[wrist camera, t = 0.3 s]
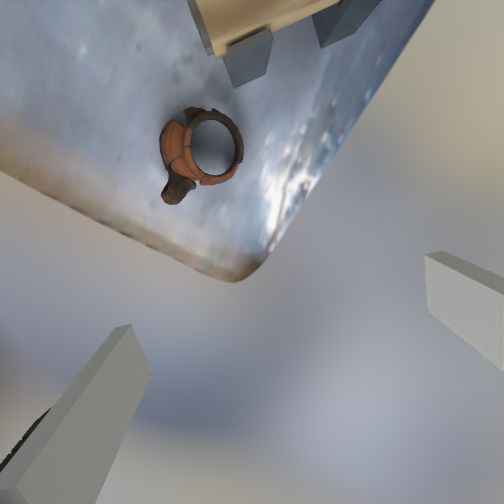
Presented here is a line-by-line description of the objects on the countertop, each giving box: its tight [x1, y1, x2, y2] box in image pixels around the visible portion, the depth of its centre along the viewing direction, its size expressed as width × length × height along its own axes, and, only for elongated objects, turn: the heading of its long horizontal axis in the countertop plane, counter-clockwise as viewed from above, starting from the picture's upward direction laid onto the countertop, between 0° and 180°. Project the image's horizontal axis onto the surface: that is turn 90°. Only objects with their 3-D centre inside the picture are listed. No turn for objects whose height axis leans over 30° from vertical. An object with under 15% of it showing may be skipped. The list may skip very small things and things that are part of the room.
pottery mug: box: [159, 107, 244, 205], centre depth 34 cm, size 12×9×8 cm
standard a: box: [222, 28, 273, 89], centre depth 28 cm, size 7×4×10 cm, turn 22°
